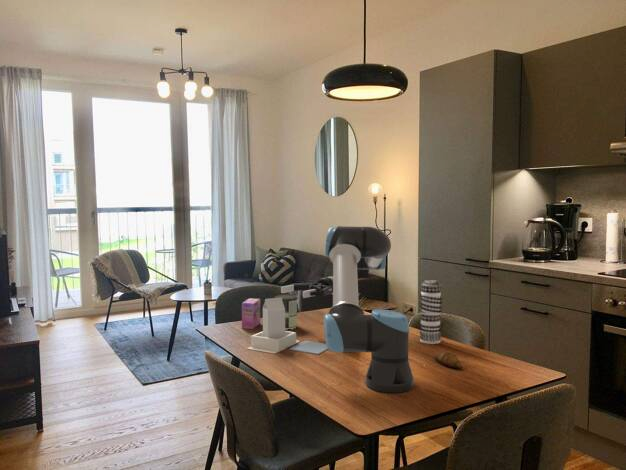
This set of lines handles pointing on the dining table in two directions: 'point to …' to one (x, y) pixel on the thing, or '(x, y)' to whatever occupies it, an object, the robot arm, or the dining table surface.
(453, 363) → the croissant
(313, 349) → the mat
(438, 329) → the round tower model
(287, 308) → the coffee can
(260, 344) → the white tray
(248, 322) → the box
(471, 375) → the dining table surface
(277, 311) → the milk carton
